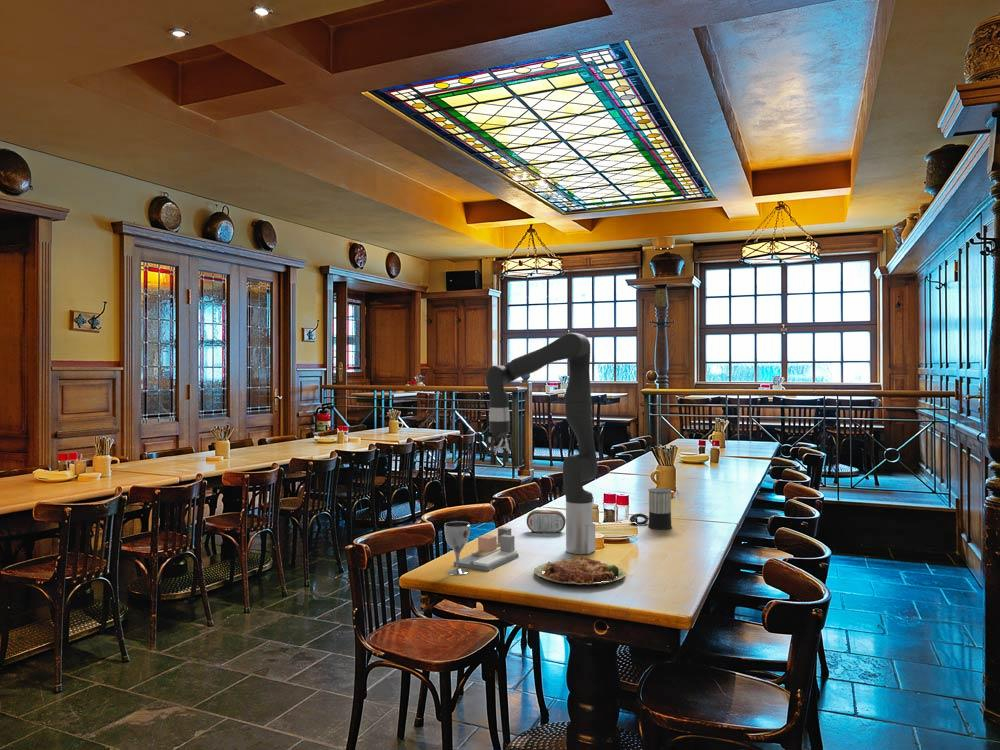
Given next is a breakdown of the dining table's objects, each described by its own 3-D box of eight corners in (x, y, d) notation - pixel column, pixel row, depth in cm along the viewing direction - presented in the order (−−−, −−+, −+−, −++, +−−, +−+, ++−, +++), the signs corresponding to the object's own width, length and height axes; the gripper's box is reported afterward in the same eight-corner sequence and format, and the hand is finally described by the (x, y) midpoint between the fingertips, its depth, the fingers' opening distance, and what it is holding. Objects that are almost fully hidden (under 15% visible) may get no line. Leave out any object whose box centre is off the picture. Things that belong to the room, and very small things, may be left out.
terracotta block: (496, 549, 234) (496, 536, 234) (489, 552, 231) (489, 538, 231) (485, 547, 237) (485, 534, 237) (478, 550, 233) (478, 537, 233)
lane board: (518, 557, 232) (518, 550, 232) (488, 571, 216) (488, 564, 216) (485, 552, 239) (485, 545, 239) (453, 565, 223) (453, 558, 223)
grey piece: (513, 545, 243) (513, 528, 243) (485, 557, 228) (485, 539, 227) (499, 543, 246) (499, 526, 246) (471, 555, 230) (471, 537, 230)
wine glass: (446, 568, 219) (445, 521, 219) (471, 568, 219) (470, 521, 219) (443, 575, 211) (442, 526, 211) (469, 576, 211) (468, 526, 211)
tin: (565, 531, 268) (565, 510, 268) (565, 533, 265) (565, 511, 265) (526, 531, 269) (526, 509, 269) (526, 533, 266) (526, 511, 266)
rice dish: (558, 563, 230) (557, 546, 230) (639, 570, 216) (638, 553, 216) (517, 585, 205) (516, 567, 206) (605, 596, 192) (604, 576, 192)
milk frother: (674, 529, 270) (674, 491, 269) (633, 529, 270) (633, 491, 270) (667, 522, 284) (666, 485, 284) (628, 521, 284) (628, 485, 284)
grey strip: (516, 553, 232) (516, 536, 232) (487, 566, 216) (487, 548, 216) (502, 551, 235) (502, 534, 235) (472, 564, 219) (472, 545, 219)
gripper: (497, 421, 247) (498, 466, 247) (517, 418, 259) (518, 462, 260) (480, 420, 251) (480, 465, 251) (500, 418, 263) (500, 460, 263)
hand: (499, 463), depth 255 cm, fingers open, 8 cm apart
